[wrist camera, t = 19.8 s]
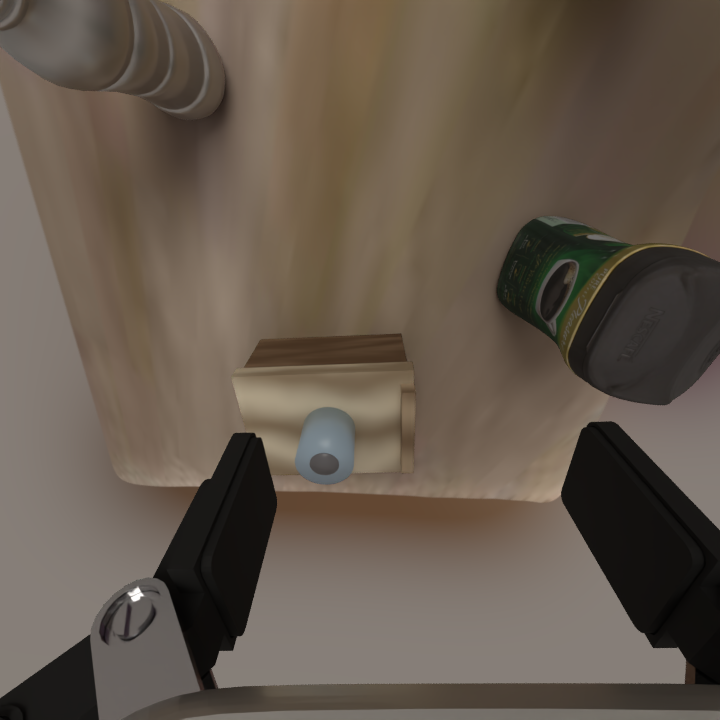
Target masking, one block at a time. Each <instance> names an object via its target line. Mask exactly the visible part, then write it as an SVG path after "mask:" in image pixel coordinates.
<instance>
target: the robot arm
mask: <svg viewBox="0 0 720 720" xmlns="http://www.w3.org/2000/svg"><path fill="white" fill-rule="evenodd" d="M561 497H562V501H563V504H564V505H565V507H566V509H567V511H568V512H569V514H570V516H571V517H572V519H573V521H574V523H575V524H576V526H577V528H578V530H579V531H580V533H581V534H582V536H583V538H584V540H585V542H586V543H587V545H588V547H589V549H590V550H591V552H592V554H593V555H594V557H595V559H596V561H597V562H598V564H599V566H600V568H601V569H602V571H603V573H604V574H605V576H606V578H607V580H608V581H609V583H610V585H611V586H612V588H613V590H614V591H615V593H616V595H617V597H618V598H619V600H620V602H621V604H622V605H623V607H624V609H625V611H626V612H627V614H628V616H629V617H630V619H631V621H632V623H633V624H634V626H635V627H636V628H637V629H638V630H639V631H640V632H642V633H645V635H646V637H647V638H648V640H649V642H650V644H651V645H652V647H653V648H677V647H678V648H679V649H680V651H681V652H682V654H683V655H684V657H685V658H686V673H685V684H603V683H595V684H594V683H593V684H592V683H591V684H588V683H580V684H579V683H573V684H572V683H526V684H525V683H519V684H518V683H512V684H511V683H506V684H505V683H498V684H497V683H496V684H493V683H492V684H490V683H488V684H485V683H484V684H319V685H280V686H244V687H232V688H221V689H218V686H217V683H216V680H215V677H214V675H213V672H212V669H211V668H212V667H213V666H214V665H215V663H216V660H217V657H218V653H219V651H233V649H234V645H235V641H236V638H237V636H242V635H243V633H244V631H245V628H246V624H247V621H248V617H249V613H250V609H251V605H252V601H253V598H254V593H255V590H256V586H257V582H258V578H259V574H260V570H261V567H262V563H263V559H264V555H265V551H266V547H267V543H268V539H269V536H270V532H271V528H272V524H273V520H274V516H275V513H276V508H277V497H276V493H275V489H274V485H273V481H272V477H271V473H270V469H269V465H268V461H267V457H266V453H265V449H264V445H263V441H262V438H261V437H256V434H255V433H234V434H233V436H232V437H231V439H230V441H229V443H228V445H227V447H226V449H225V451H224V453H223V455H222V457H221V460H220V462H219V464H218V466H217V468H216V470H215V472H214V474H213V476H212V478H211V479H206V480H205V481H204V482H203V483H202V484H201V486H200V487H199V489H198V491H197V493H196V495H195V497H194V499H193V501H192V503H191V505H190V507H189V509H188V510H187V513H186V514H185V516H184V518H183V521H182V522H181V524H180V526H179V528H178V530H177V532H176V534H175V536H174V538H173V540H172V542H171V544H170V545H169V547H168V550H167V551H166V553H165V555H164V557H163V559H162V561H161V563H160V565H159V567H158V569H157V571H156V573H155V575H154V577H153V578H144V579H140V580H136V581H134V582H132V583H130V584H128V585H126V586H124V587H123V588H122V589H120V590H119V591H118V592H116V593H115V594H114V595H113V596H112V597H111V598H110V599H109V600H108V601H107V602H106V603H105V604H104V605H103V607H102V608H101V610H100V611H99V613H98V614H97V616H96V618H95V620H94V623H93V626H92V628H91V634H90V635H89V636H87V637H86V638H84V639H83V640H82V641H80V642H79V643H77V644H76V645H75V646H73V647H72V648H70V649H69V650H68V651H66V652H65V653H63V654H62V655H61V656H59V657H58V658H57V659H55V660H53V661H52V662H51V663H49V664H48V665H46V666H45V667H44V668H42V669H41V670H39V671H38V672H37V673H35V674H34V675H32V676H31V677H30V678H28V679H27V680H25V681H24V682H23V683H21V684H20V685H18V686H17V687H16V688H14V689H13V690H11V691H10V692H8V693H7V694H6V695H4V696H3V697H1V698H0V720H720V530H719V529H718V528H717V527H716V526H715V525H714V524H713V523H712V522H711V521H710V520H709V519H708V518H707V517H706V516H705V515H704V514H703V512H701V510H700V509H698V507H697V506H696V505H695V504H694V503H693V502H692V501H691V500H690V499H689V498H688V497H687V496H686V495H685V494H684V493H683V492H682V491H681V490H680V489H679V488H678V487H677V486H676V484H675V483H674V482H672V480H671V479H670V478H669V477H668V476H667V475H666V474H665V473H664V472H663V471H662V470H661V469H660V468H659V467H658V466H657V465H656V464H655V463H654V462H653V461H652V460H651V459H650V458H649V456H647V454H646V453H645V452H644V451H643V450H642V449H641V448H640V447H639V446H638V445H637V444H636V443H635V442H634V441H633V440H632V439H631V438H630V437H629V436H628V435H627V434H626V433H625V432H624V431H623V430H622V429H621V428H620V426H619V425H618V424H616V423H614V422H611V421H610V422H590V423H589V424H588V425H587V427H585V428H583V429H582V430H581V433H580V436H579V439H578V442H577V445H576V448H575V451H574V454H573V457H572V460H571V463H570V466H569V469H568V472H567V475H566V478H565V481H564V484H563V487H562V491H561Z"/></svg>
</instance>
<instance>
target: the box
mask: <svg viewBox="0 0 720 720" xmlns="http://www.w3.org/2000/svg"><path fill="white" fill-rule="evenodd" d="M389 362H407V361H406V356H405V351H404V346H403V341H402V336H401V334H384V335H360V336H335V337H311V338H287V339H262V340H260V342H259V343H258V345H257V347H256V348H255V350H254V352H253V353H252V355H251V357H250V358H249V360H248V362H247V363H246V365H245V367H244V368H257V367H283V366H310V365H336V364H362V363H389Z"/></svg>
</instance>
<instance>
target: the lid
mask: <svg viewBox="0 0 720 720" xmlns="http://www.w3.org/2000/svg"><path fill="white" fill-rule="evenodd" d="M231 378H232V382H233V385H234V389H235V393H236V396H237V400H238V404H239V407H240V411H241V415H242V418H243V422H244V426H245V429H246V433H255V434H256V437H261V438H262V441H263V445H264V449H265V453H266V457H267V461H268V465H269V469H270V473H271V475H301V474H300V473H299V472H298V471H297V469H296V466H295V457H296V453H297V449H298V445H299V441H300V437H301V432H302V428H303V424H304V421H305V418H306V417H307V416H308V415H309V414H310V413H311V412H312V411H314V410H316V409H319V408H323V407H332V408H337V409H340V410H342V411H344V412H346V413H347V414H348V415H349V416H350V417H351V418H352V419H353V421H354V424H355V448H354V467H353V471H352V473H383V472H402V473H413V469H414V436H415V403H416V391H415V387H414V368H413V363H412V362H389V363H362V364H336V365H310V366H283V367H257V368H237V369H236V370H235V372H234V374H233V375H232V377H231Z"/></svg>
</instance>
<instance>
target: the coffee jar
mask: <svg viewBox="0 0 720 720" xmlns="http://www.w3.org/2000/svg"><path fill="white" fill-rule="evenodd" d="M497 294H498V298H499V300H500V302H501V303H502V304H503V305H504V306H505V307H506V308H507V309H508V310H510V311H511V312H512V313H514V314H515V315H517V316H519V317H520V318H522V319H524V320H525V321H527V322H528V323H530V324H532V325H533V326H535V327H536V328H538V329H539V330H541V331H542V332H543V333H545V334H546V335H547V336H549V337H550V338H551V339H552V340H553V341H554V342H555V343H556V344H557V345H558V347H559V349H560V351H561V354H562V356H563V358H564V361H565V363H566V364H567V366H568V367H569V368H570V370H571V371H572V372H573V373H574V374H575V375H577V376H579V377H580V378H582V379H583V380H584V381H586V382H588V383H589V384H590V385H591V386H593V387H594V388H596V389H598V390H600V391H602V392H604V393H606V394H608V395H610V396H613V397H616V398H619V399H623V400H627V401H631V402H637V403H644V404H653V405H667V404H669V403H671V402H672V400H673V399H675V398H677V397H678V396H680V395H681V394H682V393H684V392H685V391H687V389H689V388H690V387H691V386H692V385H693V384H694V383H695V382H696V381H697V380H698V379H699V378H700V377H701V376H702V374H703V373H704V372H705V371H706V369H707V368H708V367H709V366H710V365H711V363H712V362H713V361H714V360H715V359H716V357H717V356H718V355H719V354H720V262H718V261H715V260H713V259H711V258H710V257H708V256H707V255H704V254H703V253H700V252H698V251H695V250H693V249H689V248H685V247H681V246H677V245H671V244H660V243H648V244H638V245H630V244H627V243H624V242H622V241H619V240H617V239H615V238H613V237H611V236H609V235H607V234H605V233H603V232H601V231H599V230H597V229H595V228H593V227H591V226H588V225H586V224H583V223H581V222H578V221H575V220H571V219H568V218H563V217H556V216H543V217H539V218H536V219H534V220H532V221H530V222H529V223H527V224H526V225H525V226H524V227H523V228H522V229H521V230H520V232H519V233H518V235H517V237H516V239H515V240H514V242H513V244H512V247H511V248H510V251H509V253H508V255H507V258H506V260H505V263H504V265H503V268H502V271H501V274H500V278H499V282H498V286H497Z"/></svg>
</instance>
